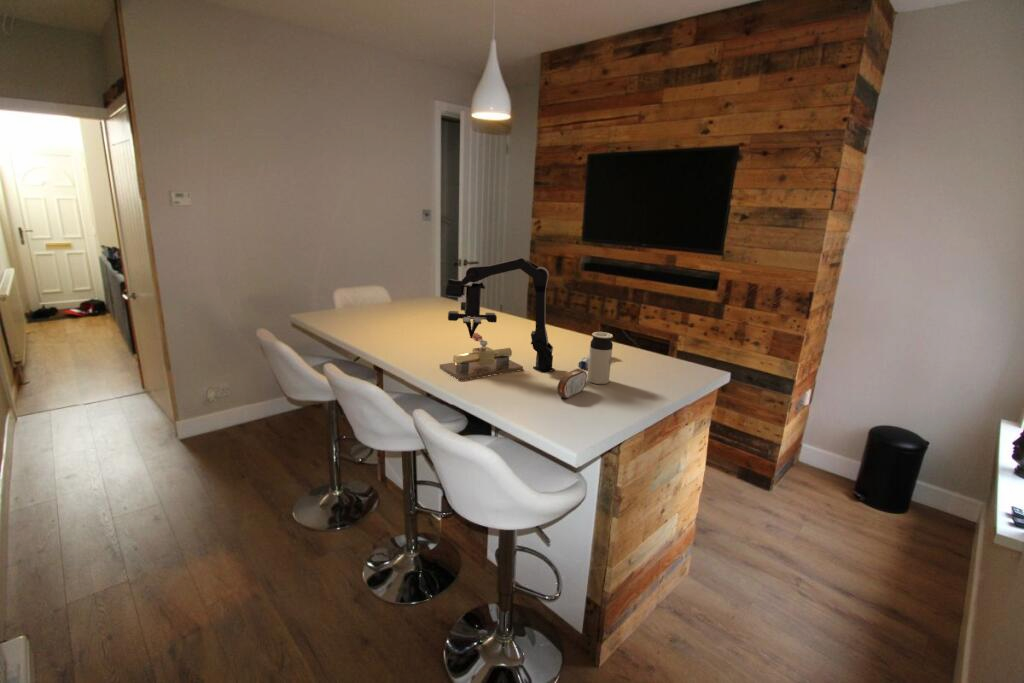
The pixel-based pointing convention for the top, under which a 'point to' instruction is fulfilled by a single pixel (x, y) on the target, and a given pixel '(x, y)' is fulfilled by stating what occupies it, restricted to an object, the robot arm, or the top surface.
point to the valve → (481, 363)
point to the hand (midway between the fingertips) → (471, 338)
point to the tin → (572, 383)
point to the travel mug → (600, 358)
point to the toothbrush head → (584, 363)
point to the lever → (479, 339)
